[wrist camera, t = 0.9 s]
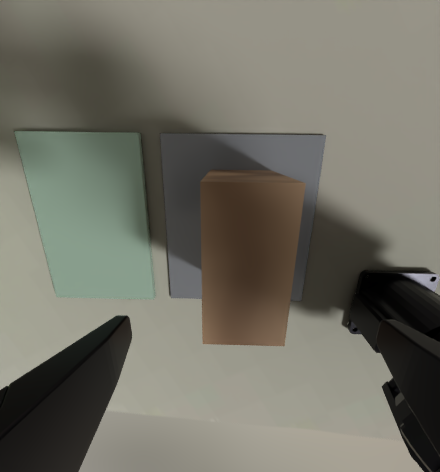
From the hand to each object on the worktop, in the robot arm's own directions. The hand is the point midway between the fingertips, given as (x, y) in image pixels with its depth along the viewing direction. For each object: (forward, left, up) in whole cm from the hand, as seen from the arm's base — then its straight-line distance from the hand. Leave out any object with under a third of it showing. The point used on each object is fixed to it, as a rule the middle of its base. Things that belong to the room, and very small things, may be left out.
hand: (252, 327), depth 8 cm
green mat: (+12, 0, -12) cm, 17 cm away
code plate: (0, 0, -12) cm, 12 cm away
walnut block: (0, 0, -12) cm, 12 cm away
